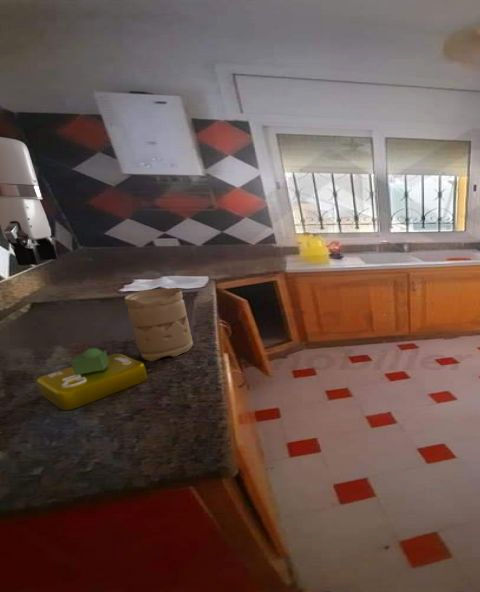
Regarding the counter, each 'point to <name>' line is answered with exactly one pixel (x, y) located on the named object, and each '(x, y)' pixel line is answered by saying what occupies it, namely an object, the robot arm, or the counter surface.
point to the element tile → (91, 382)
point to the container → (159, 323)
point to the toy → (90, 361)
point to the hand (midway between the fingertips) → (39, 261)
